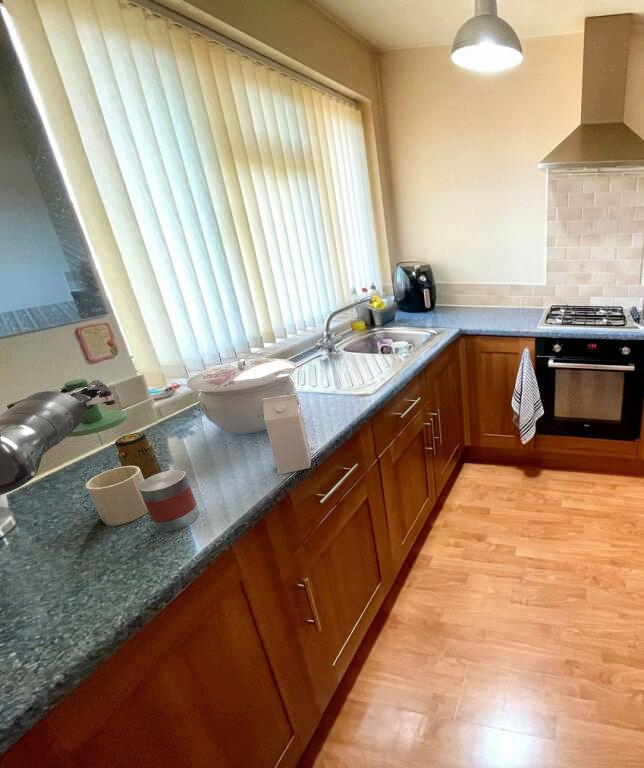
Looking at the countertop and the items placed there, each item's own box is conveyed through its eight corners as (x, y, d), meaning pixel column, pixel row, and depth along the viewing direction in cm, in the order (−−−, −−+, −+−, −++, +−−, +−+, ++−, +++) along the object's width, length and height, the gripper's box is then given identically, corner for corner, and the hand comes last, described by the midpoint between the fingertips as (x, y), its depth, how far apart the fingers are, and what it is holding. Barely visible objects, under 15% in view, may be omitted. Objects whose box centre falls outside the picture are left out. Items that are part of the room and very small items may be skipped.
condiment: (141, 474, 99) (124, 431, 95) (179, 471, 100) (164, 428, 96) (120, 492, 92) (100, 447, 88) (161, 488, 94) (143, 443, 89)
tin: (151, 537, 79) (132, 495, 75) (161, 515, 85) (144, 475, 81) (196, 525, 82) (180, 484, 78) (202, 504, 88) (188, 466, 84)
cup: (96, 530, 81) (78, 493, 78) (111, 506, 88) (95, 472, 84) (147, 517, 84) (132, 481, 81) (158, 495, 91) (144, 462, 88)
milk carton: (281, 460, 104) (264, 393, 97) (311, 454, 107) (296, 389, 100) (278, 475, 98) (260, 404, 91) (310, 468, 101) (294, 399, 94)
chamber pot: (235, 456, 107) (213, 383, 99) (185, 431, 119) (162, 366, 112) (327, 415, 129) (315, 353, 122) (276, 398, 142) (262, 341, 134)
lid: (47, 441, 72) (24, 395, 69) (73, 420, 80) (53, 377, 77) (117, 429, 76) (98, 385, 73) (134, 410, 84) (118, 370, 81)
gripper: (89, 392, 65) (126, 362, 79) (-38, 410, 59) (27, 374, 74) (107, 433, 68) (139, 397, 82) (-13, 454, 62) (45, 411, 76)
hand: (86, 386), depth 78 cm, fingers closed on lid, 3 cm apart
